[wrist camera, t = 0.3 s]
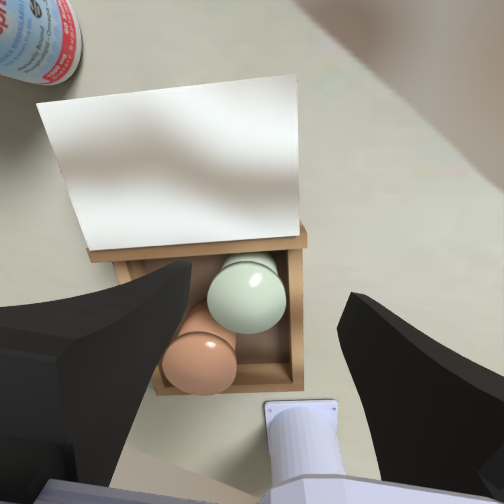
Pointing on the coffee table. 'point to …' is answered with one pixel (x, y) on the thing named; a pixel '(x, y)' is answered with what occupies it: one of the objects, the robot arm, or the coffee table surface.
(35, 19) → the pill bottle
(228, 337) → the peach rounded knob
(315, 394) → the coffee table surface
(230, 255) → the mint green knob
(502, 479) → the robot arm
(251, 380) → the cold frame
